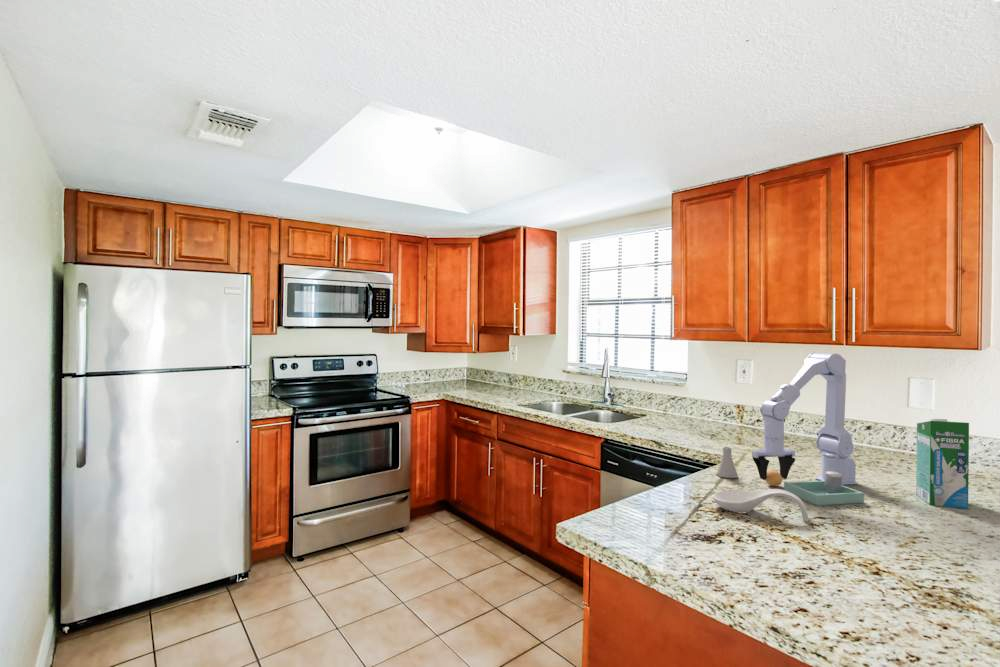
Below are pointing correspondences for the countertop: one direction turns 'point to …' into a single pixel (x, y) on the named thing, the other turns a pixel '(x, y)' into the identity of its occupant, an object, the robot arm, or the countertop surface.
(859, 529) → the countertop surface
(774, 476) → the ball
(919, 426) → the milk carton
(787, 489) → the tray
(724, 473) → the flask
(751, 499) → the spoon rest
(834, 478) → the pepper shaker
